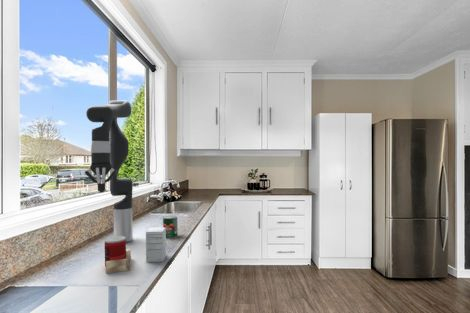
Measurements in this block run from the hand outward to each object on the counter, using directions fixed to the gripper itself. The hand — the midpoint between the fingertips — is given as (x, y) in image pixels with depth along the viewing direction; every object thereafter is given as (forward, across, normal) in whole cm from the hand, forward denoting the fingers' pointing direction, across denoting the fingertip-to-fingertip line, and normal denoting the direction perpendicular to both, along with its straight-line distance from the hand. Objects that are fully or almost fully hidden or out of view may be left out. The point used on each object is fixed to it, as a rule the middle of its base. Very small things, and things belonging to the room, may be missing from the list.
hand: (101, 192), depth 120 cm
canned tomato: (+29, -32, -25) cm, 50 cm away
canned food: (+29, -6, +10) cm, 32 cm away
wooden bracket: (+29, -7, +10) cm, 32 cm away
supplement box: (+29, -22, +8) cm, 37 cm away
